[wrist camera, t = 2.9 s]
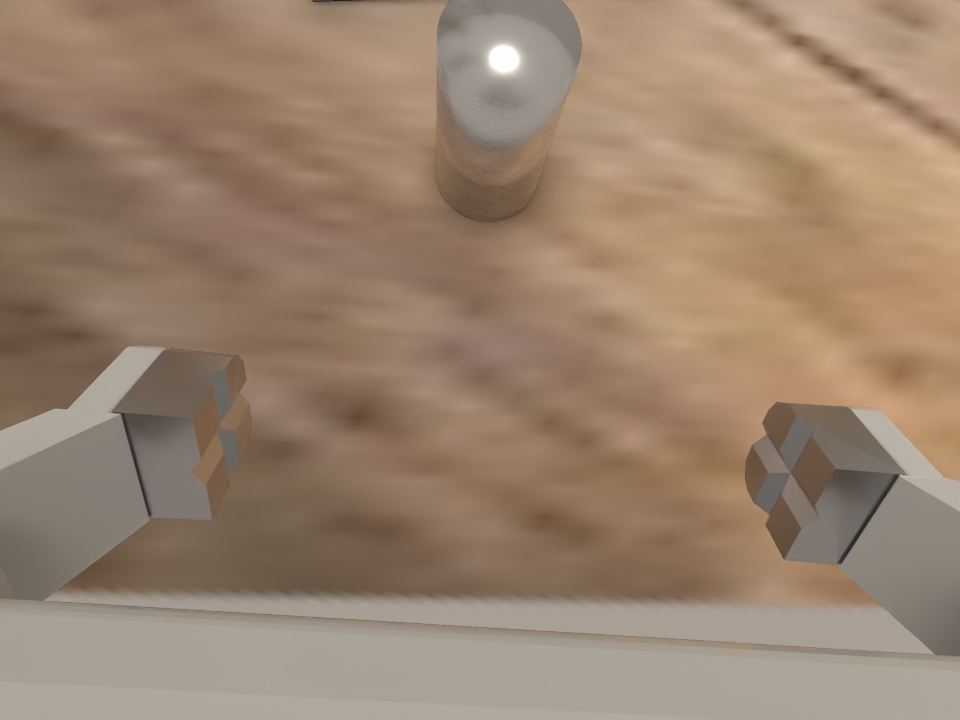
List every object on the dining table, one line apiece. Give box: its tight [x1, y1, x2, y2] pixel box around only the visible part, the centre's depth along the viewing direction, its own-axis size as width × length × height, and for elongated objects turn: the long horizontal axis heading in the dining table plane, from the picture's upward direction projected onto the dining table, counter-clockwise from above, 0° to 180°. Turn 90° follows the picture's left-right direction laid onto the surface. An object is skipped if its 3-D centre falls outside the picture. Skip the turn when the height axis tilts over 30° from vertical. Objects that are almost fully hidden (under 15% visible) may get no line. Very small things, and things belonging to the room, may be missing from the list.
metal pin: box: [436, 0, 582, 222], centre depth 22 cm, size 4×4×8 cm
